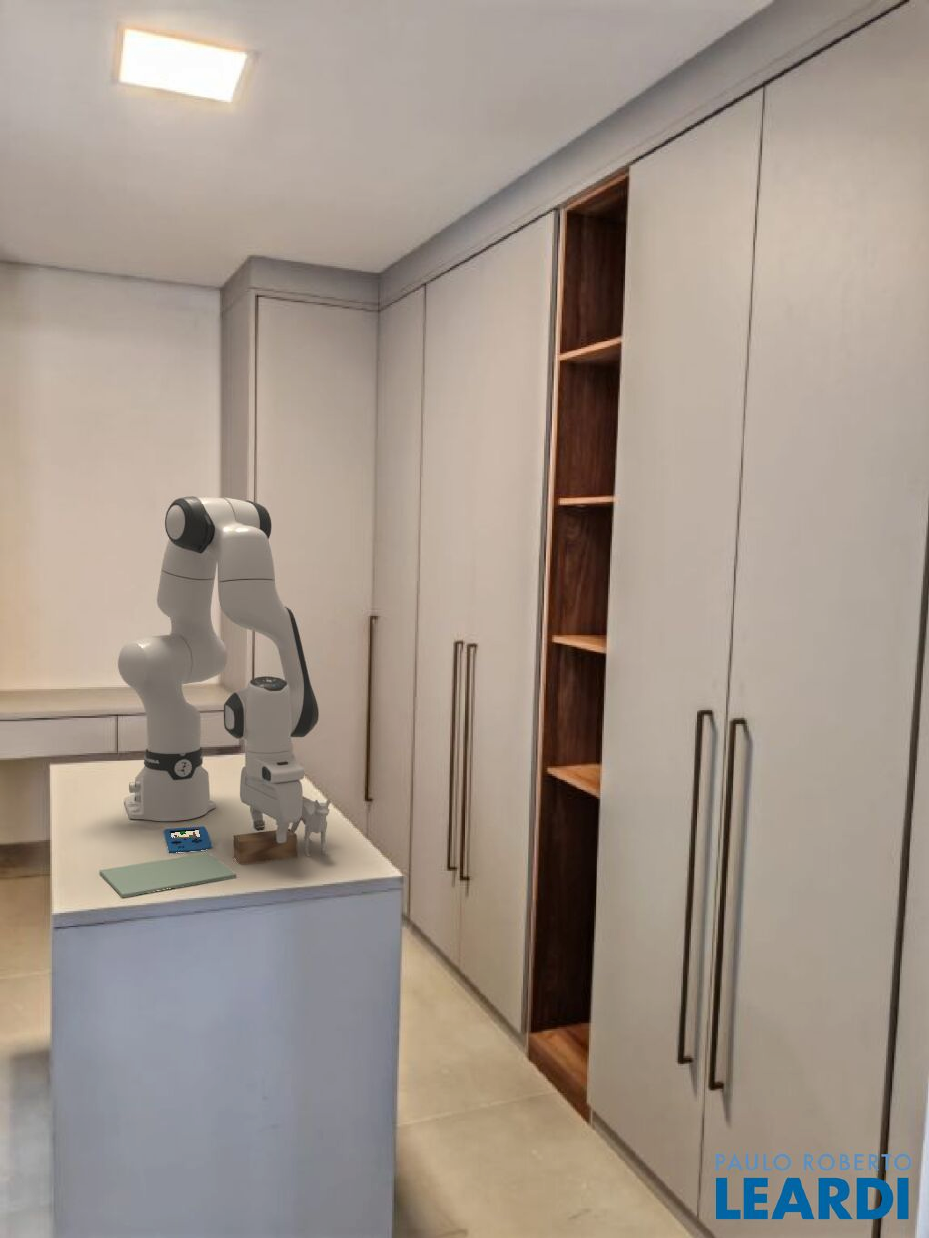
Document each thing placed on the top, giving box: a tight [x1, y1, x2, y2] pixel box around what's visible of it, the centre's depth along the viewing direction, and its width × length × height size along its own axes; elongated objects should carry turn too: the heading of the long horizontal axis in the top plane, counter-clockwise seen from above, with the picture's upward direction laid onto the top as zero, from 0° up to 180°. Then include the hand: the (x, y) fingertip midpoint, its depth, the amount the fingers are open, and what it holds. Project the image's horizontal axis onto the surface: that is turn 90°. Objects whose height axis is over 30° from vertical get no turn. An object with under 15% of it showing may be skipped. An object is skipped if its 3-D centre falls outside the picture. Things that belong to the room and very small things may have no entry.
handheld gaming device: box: [163, 825, 213, 854], centre depth 201 cm, size 8×1×15 cm
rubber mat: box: [99, 852, 237, 898], centre depth 180 cm, size 14×20×1 cm
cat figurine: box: [290, 795, 332, 857], centre depth 198 cm, size 4×20×14 cm, turn 28°
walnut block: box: [232, 828, 298, 865], centre depth 192 cm, size 11×4×5 cm, turn 118°
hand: (269, 835), depth 191 cm, fingers open, 8 cm apart
